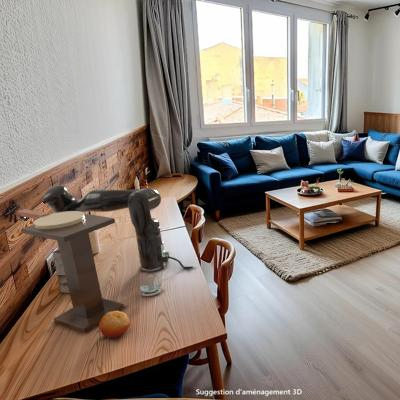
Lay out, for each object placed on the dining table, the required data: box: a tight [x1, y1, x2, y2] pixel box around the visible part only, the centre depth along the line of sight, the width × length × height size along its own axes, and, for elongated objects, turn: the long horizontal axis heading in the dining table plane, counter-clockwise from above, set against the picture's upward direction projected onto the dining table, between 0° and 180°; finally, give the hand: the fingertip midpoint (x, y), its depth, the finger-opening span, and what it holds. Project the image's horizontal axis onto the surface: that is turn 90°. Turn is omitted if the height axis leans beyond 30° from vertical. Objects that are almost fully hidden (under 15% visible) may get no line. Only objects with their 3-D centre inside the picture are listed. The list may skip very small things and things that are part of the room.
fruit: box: [98, 310, 131, 340], centre depth 102 cm, size 8×8×8 cm
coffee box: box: [51, 248, 70, 294], centre depth 127 cm, size 9×6×16 cm
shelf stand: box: [22, 213, 125, 334], centre depth 108 cm, size 18×16×32 cm
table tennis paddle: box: [17, 209, 86, 229], centre depth 107 cm, size 25×13×2 cm, turn 67°
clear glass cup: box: [139, 275, 163, 297], centre depth 124 cm, size 7×6×6 cm
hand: (11, 215), depth 115 cm, fingers open, 8 cm apart
